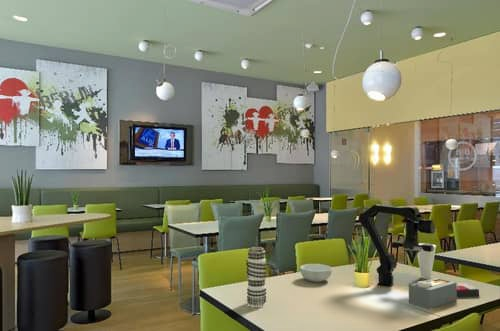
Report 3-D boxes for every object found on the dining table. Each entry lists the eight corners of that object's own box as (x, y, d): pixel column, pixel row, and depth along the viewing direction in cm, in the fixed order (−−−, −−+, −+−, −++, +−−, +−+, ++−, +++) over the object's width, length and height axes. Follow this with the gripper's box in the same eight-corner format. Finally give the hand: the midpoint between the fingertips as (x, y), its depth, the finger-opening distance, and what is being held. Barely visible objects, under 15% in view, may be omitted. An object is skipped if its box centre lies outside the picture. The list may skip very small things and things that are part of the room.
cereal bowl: (295, 281, 209) (295, 268, 210) (307, 274, 224) (307, 262, 224) (325, 286, 200) (325, 272, 201) (336, 278, 215) (336, 265, 215)
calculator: (435, 283, 192) (464, 281, 194) (436, 292, 192) (464, 290, 194) (448, 290, 181) (479, 287, 183) (449, 299, 181) (479, 297, 183)
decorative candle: (242, 303, 174) (241, 247, 174) (258, 299, 179) (258, 245, 180) (254, 309, 167) (254, 250, 167) (271, 304, 172) (270, 248, 173)
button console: (408, 302, 174) (408, 284, 175) (435, 294, 186) (435, 277, 186) (429, 309, 166) (429, 289, 166) (456, 300, 178) (456, 281, 178)
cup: (416, 279, 212) (416, 246, 213) (414, 274, 223) (414, 243, 223) (438, 281, 209) (437, 247, 210) (435, 276, 220) (434, 243, 220)
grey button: (415, 289, 173) (414, 282, 173) (421, 287, 176) (421, 280, 176) (425, 291, 169) (425, 284, 169) (432, 289, 172) (432, 283, 172)
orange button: (433, 288, 181) (433, 281, 181) (439, 286, 183) (439, 279, 183) (443, 290, 176) (443, 284, 177) (449, 289, 179) (449, 282, 179)
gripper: (387, 232, 193) (388, 264, 193) (428, 235, 182) (428, 269, 182) (394, 229, 202) (394, 260, 202) (433, 232, 191) (434, 264, 191)
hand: (412, 263), depth 194 cm, fingers closed
